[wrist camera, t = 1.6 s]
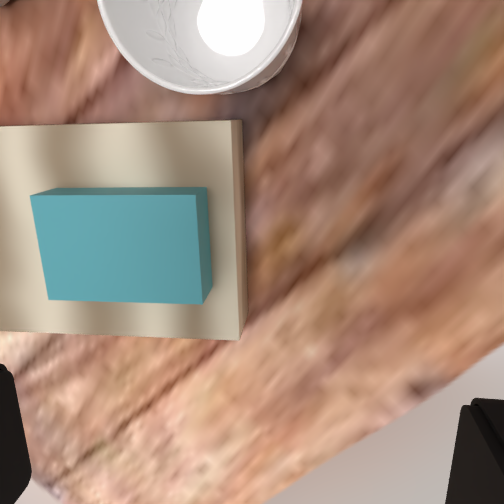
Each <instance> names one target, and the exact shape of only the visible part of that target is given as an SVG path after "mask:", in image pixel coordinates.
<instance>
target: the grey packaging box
mask: <svg viewBox="0 0 504 504" xmlns="http://www.w3.org/2000/svg"><path fill="white" fill-rule="evenodd" d="M8 1H9V0H0V6H4V5H5V4H6V3H7V2H8Z"/></svg>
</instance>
